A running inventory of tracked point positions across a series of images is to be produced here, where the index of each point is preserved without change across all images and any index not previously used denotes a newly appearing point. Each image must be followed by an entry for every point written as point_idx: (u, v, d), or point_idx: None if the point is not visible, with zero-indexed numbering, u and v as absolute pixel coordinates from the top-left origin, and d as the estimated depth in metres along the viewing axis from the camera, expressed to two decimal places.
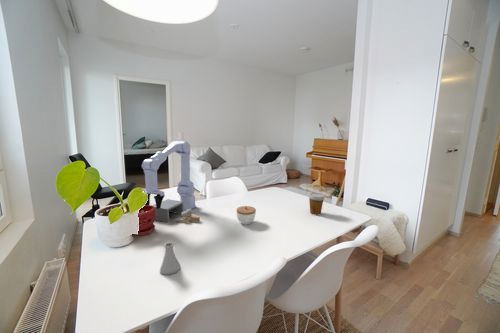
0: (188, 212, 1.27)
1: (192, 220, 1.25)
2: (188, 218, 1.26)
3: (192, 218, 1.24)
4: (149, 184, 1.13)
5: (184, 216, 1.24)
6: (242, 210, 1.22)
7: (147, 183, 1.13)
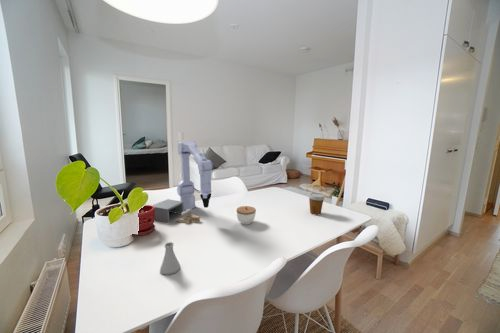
0: (188, 212, 1.27)
1: (192, 220, 1.25)
2: (188, 218, 1.26)
3: (192, 218, 1.24)
4: (200, 184, 1.18)
5: (184, 216, 1.24)
6: (242, 210, 1.22)
7: (200, 183, 1.19)
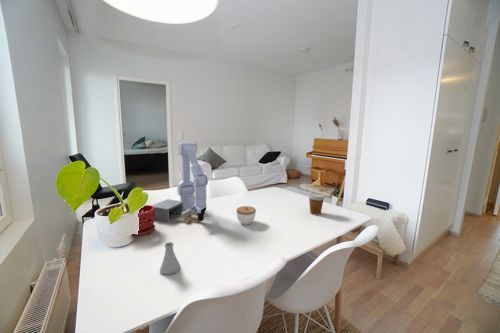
0: (188, 212, 1.27)
1: (192, 220, 1.25)
2: (188, 218, 1.26)
3: (192, 218, 1.24)
4: (195, 198, 1.21)
5: (184, 216, 1.24)
6: (242, 210, 1.22)
7: None
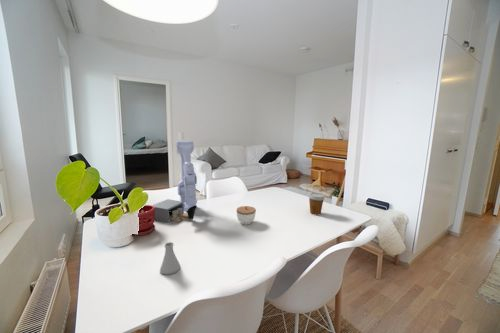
0: (179, 210, 1.30)
1: (183, 218, 1.27)
2: (179, 216, 1.28)
3: (183, 216, 1.27)
4: (185, 196, 1.23)
5: (175, 214, 1.26)
6: (242, 210, 1.22)
7: None
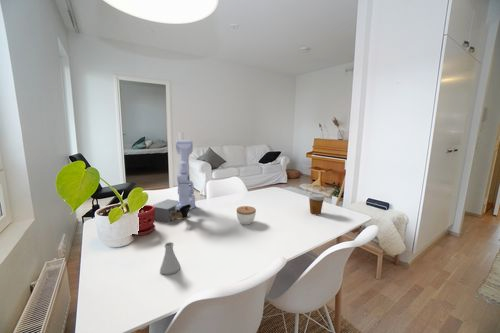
0: (173, 209, 1.31)
1: (177, 217, 1.29)
2: (173, 215, 1.30)
3: (177, 215, 1.29)
4: (179, 195, 1.25)
5: (169, 213, 1.28)
6: (242, 210, 1.22)
7: None
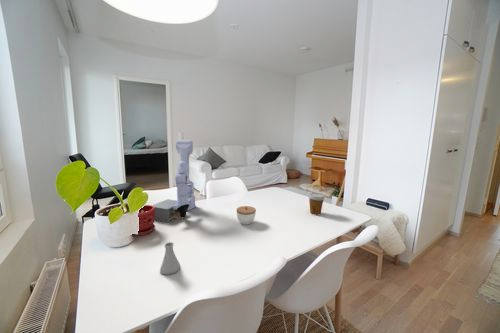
0: (171, 209, 1.32)
1: (175, 216, 1.29)
2: (171, 215, 1.30)
3: (175, 214, 1.29)
4: None
5: None
6: (242, 210, 1.22)
7: None
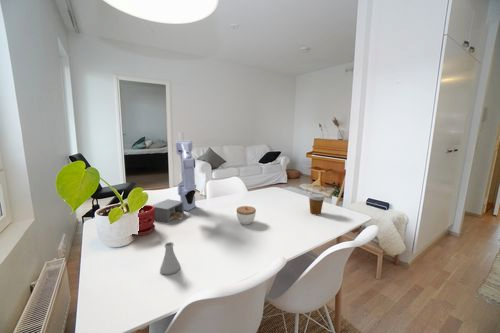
0: (171, 209, 1.32)
1: (175, 216, 1.29)
2: (171, 215, 1.30)
3: (175, 214, 1.29)
4: (184, 181, 1.22)
5: None
6: (242, 210, 1.22)
7: None
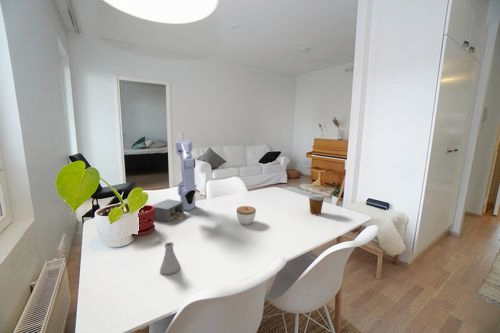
0: (171, 209, 1.32)
1: (175, 216, 1.29)
2: (171, 215, 1.30)
3: (175, 214, 1.29)
4: (184, 181, 1.22)
5: None
6: (242, 210, 1.22)
7: None
